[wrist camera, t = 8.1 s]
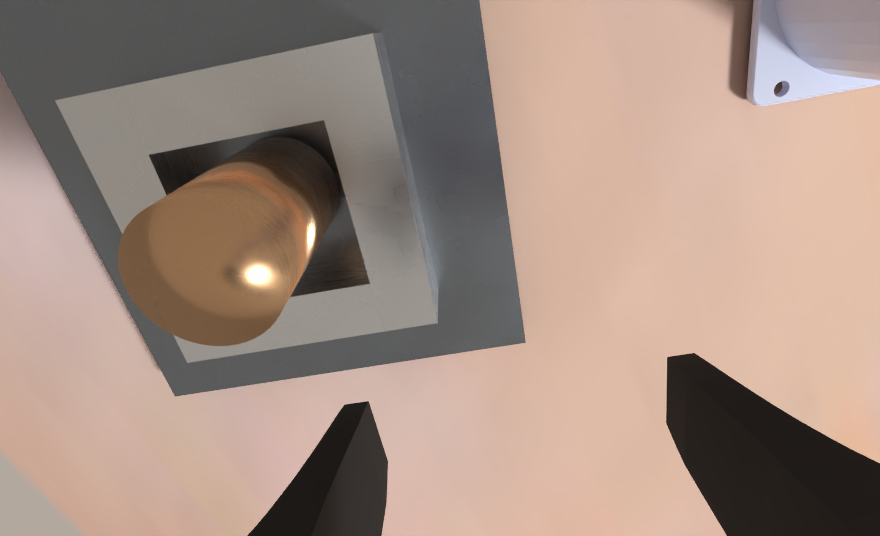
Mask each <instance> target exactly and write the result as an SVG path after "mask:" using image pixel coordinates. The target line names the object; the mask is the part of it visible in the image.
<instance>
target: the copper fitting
mask: <svg viewBox="0 0 880 536" xmlns="http://www.w3.org/2000/svg"><path fill="white" fill-rule="evenodd" d="M338 206H339V186H338V182H337V179H336V177H335V174H334V172H333V170H332V168H331V167H330V165H329V164H328V162H327V161H326V160H325V159H324V158H323V157H322V155H321V154H319V153H318V152H317V151H316V150H315V149H313V148H312V147H310V146H309V145H307V144H305V143H303V142H301V141H298V140H295V139H291V138H287V137H269V138H264V139H261V140H258V141H256V142H254V143H252V144H250V145H249V146H247V147H245V148H244V149H242V150H240V151H239V152H237V153H235V154H234V155H232V156H231V157H229V158H227V159H226V160H224V161H222V162H221V163H219V164H217V165H216V166H214V167H213V168H211V169H209V170H208V171H206V172H204V173H203V174H201V175H199V176H198V177H196V178H195V179H193V180H191V181H190V182H188V183H186V184H185V185H183V186H181V187H180V188H178V189H177V190H175V191H173V192H172V193H170V194H168V195H167V196H165V197H163V198H162V199H160V200H159V201H157V202H155V203H154V204H152V205H150V206H149V207H147V208H146V209H144V210H143V211H141V212H140V213H138V214H137V215H136V216H135V217H134V218H133V219H132V220H131V221H130V223H129V224H128V225H127V227H126V228H125V230H124V232H123V235H122V237H121V240H120V244H119V249H118V266H119V271H120V275H121V278H122V281H123V284H124V286H125V288H126V290H127V292H128V294H129V296H130V297H131V299H132V300H133V302H134V303H135V304H136V306H137V307H138V308H139V309H140V310H141V311H142V312H143V313H144V314H145V315H146V316H147V317H148V318H149V319H150V320H151V321H152V322H154V323H155V324H156V325H157V326H159V327H161V328H162V329H164V330H165V331H167V332H169V333H171V334H173V335H174V336H177V337H179V338H181V339H184V340H187V341H190V342H193V343H197V344H202V345H209V346H230V345H237V344H241V343H245V342H247V341H250V340H252V339H255V338H256V337H258V336H260V335H262V334H263V333H264V332H266V331H267V330H268V329H269V328H270V327H271V326H272V325H273V324H274V323H275V322H276V320H277V319H278V317H279V316H280V314H281V312H282V310H283V309H284V307H285V305H286V303H287V301H288V300H289V298H290V296H291V294H292V293H293V291H294V289H295V287H296V285H297V284H298V282H299V280H300V278H301V276H302V275H303V273H304V271H305V269H306V268H307V266H308V264H309V262H310V260H311V259H312V257H313V255H314V253H315V251H316V250H317V248H318V246H319V244H320V242H321V241H322V239H323V237H324V235H325V234H326V232H327V230H328V228H329V226H330V225H331V223H332V221H333V219H334V217H335V215H336V213H337V210H338Z"/></svg>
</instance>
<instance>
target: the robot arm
mask: <svg viewBox="0 0 880 536" xmlns="http://www.w3.org/2000/svg"><path fill="white" fill-rule="evenodd" d="M779 82H782V89H781V91H780V92H779V93H778V94H776V95H775V94H774V88H775V86H776V85H777V84H778V83H779ZM876 85H880V0H754V2H753V15H752V28H751V41H750V54H749V67H748V80H747V92H746V94H747V99H748V101H749V102H750V103H751V104H753V105H757V106H768V105H774V104H779V103H784V102H790V101H795V100H801V99H806V98H811V97H817V96H822V95H827V94H833V93H838V92H844V91H849V90H854V89H860V88H865V87H870V86H876ZM666 423H667V426H668V428H669V430H670V433H671V435H672V437H673V440H674V442H675V444H676V447H677V449H678V451H679V453H680V455H681V458H682V460H683V462H684V464H685V466H686V467H687V469H688V471H689V473H690V474H691V476H692V478H693V480H694V481H695V483H696V485H697V486H698V488H699V490H700V491H701V493H702V495H703V496H704V498H705V500H706V501H707V503H708V505H709V506H710V508H711V510H712V511H713V513H714V515H715V516H716V518H717V520H718V521H719V523H720V525H721V526H722V528H723V530H724V531H725V533H726V535H727V536H880V463H878V462H876V461H874V460H872V459H869V458H867V457H865V456H863V455H861V454H859V453H857V452H855V451H853V450H851V449H849V448H848V447H846V446H844V445H842V444H840V443H838V442H836V441H834V440H832V439H831V438H829V437H827V436H825V435H824V434H822V433H820V432H818V431H817V430H815V429H813V428H811V427H809V426H808V425H806V424H804V423H802V422H801V421H799V420H797V419H796V418H794V417H792V416H791V415H789V414H787V413H786V412H784V411H782V410H781V409H779V408H777V407H776V406H774V405H773V404H771V403H769V402H768V401H766V400H765V399H763V398H761V397H760V396H758V395H757V394H755V393H754V392H752V391H751V390H749V389H748V388H746V387H744V386H743V385H741V384H740V383H738V382H737V381H735V380H734V379H732V378H731V377H729V376H728V375H726V374H725V373H723V372H722V371H720V370H719V369H717V368H716V367H714V366H713V365H711V364H710V363H708V362H707V361H705V360H704V359H702V358H701V357H699V356H698V355H696V354H695V353H692V354H685V355H679V356H672V357H667V415H666ZM387 471H388V460H387V457H386V454H385V451H384V448H383V445H382V442H381V439H380V436H379V432H378V429H377V426H376V423H375V420H374V417H373V414H372V411H371V408H370V404H369V401H367V402H360V403H354V404H347V405H344V406H343V408H342V409H341V410H340V412H339V413H338V415H337V416H336V418H335V419H334V421H333V422H332V424H331V425H330V427H329V428H328V430H327V431H326V433H325V434H324V436H323V437H322V439H321V440H320V442H319V443H318V445H317V446H316V448H315V449H314V451H313V452H312V454H311V455H310V456H309V458H308V459H307V461H306V462H305V464H304V465H303V466H302V468H301V469H300V471H299V472H298V473H297V475H296V476H295V478H294V479H293V480H292V482H291V483H290V484H289V486H288V487H287V488H286V489H285V491H284V492H283V493H282V495H281V496H280V497H279V498H278V500H277V501H276V502H275V504H274V505H273V506H272V508H271V509H270V510H269V511H268V512H267V514H266V515H265V516H264V517H263V518H262V520H261V521H260V522H259V523H258V524H257V526H256V527H255V528H254V529H253V530H252V531H251V532H250V533H249V535H248V536H381V535H382V528H383V521H384V515H385V508H386V498H387Z"/></svg>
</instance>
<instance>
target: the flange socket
mask: <svg viewBox="0 0 880 536" xmlns="http://www.w3.org/2000/svg"><path fill="white" fill-rule="evenodd" d="M0 71H1V73H2V75H3V77H4V79H5V81H6V82H7V84H8V86H9V88H10V90H11V92H12V94H13V95H14V97H15V99H16V101H17V103H18V105H19V107H20V109H21V110H22V112H23V114H24V116H25V118H26V120H27V122H28V123H29V125H30V127H31V129H32V131H33V133H34V135H35V136H36V138H37V140H38V142H39V144H40V146H41V148H42V149H43V151H44V153H45V155H46V157H47V159H48V161H49V163H50V164H51V166H52V168H53V170H54V172H55V174H56V176H57V177H58V179H59V181H60V183H61V185H62V187H63V189H64V190H65V192H66V194H67V196H68V198H69V200H70V202H71V203H72V205H73V207H74V209H75V211H76V213H77V215H78V217H79V218H80V220H81V222H82V224H83V226H84V228H85V230H86V231H87V233H88V235H89V237H90V239H91V241H92V243H93V244H94V246H95V248H96V250H97V252H98V254H99V256H100V257H101V259H102V261H103V263H104V265H105V267H106V269H107V271H108V272H109V274H110V276H111V278H112V280H113V282H114V284H115V285H116V287H117V289H118V291H119V293H120V295H121V297H122V298H123V300H124V302H125V304H126V306H127V308H128V310H129V311H130V313H131V315H132V317H133V319H134V321H135V323H136V325H137V326H138V328H139V330H140V332H141V334H142V336H143V338H144V339H145V341H146V343H147V345H148V347H149V349H150V351H151V352H152V354H153V356H154V358H155V360H156V362H157V364H158V365H159V367H160V369H161V371H162V373H163V375H164V377H165V379H166V380H167V382H168V384H169V386H170V388H171V390H172V392H173V393H174V395H175V396H181V395H187V394H194V393H200V392H207V391H213V390H220V389H226V388H233V387H239V386H246V385H252V384H259V383H265V382H272V381H278V380H285V379H291V378H298V377H304V376H311V375H317V374H324V373H330V372H337V371H343V370H350V369H356V368H363V367H369V366H376V365H382V364H389V363H395V362H402V361H408V360H415V359H422V358H428V357H435V356H441V355H448V354H454V353H461V352H467V351H474V350H480V349H487V348H493V347H500V346H506V345H513V344H519V343H526V342H525V335H524V328H523V320H522V313H521V306H520V298H519V291H518V283H517V276H516V269H515V261H514V254H513V247H512V239H511V232H510V225H509V217H508V210H507V202H506V195H505V188H504V180H503V173H502V166H501V158H500V151H499V143H498V136H497V129H496V121H495V114H494V107H493V99H492V92H491V84H490V77H489V70H488V62H487V55H486V48H485V40H484V33H483V25H482V18H481V11H480V3H479V0H0ZM269 137H287V138H291V139H295V140H298V141H301V142H303V143H305V144H307V145H309V146H310V147H312V148H313V149H315V150H316V151H317V152H318V153H319V154H321V155H322V157H323V158H324V159H325V160H326V161H327V162H328V164H329V165H330V167H331V168H332V170H333V172H334V174H335V177H336V179H337V182H338V186H339V206H338V210H337V213H336V215H335V217H334V219H333V221H332V223H331V225H330V226H329V228H328V230H327V232H326V234H325V235H324V237H323V239H322V241H321V242H320V244H319V246H318V248H317V250H316V251H315V253H314V255H313V257H312V259H311V260H310V262H309V264H308V266H307V268H306V269H305V271H304V273H303V275H302V276H301V278H300V280H299V282H298V284H297V285H296V287H295V289H294V291H293V293H292V294H291V296H290V298H289V300H288V301H287V303H286V305H285V307H284V309H283V310H282V312H281V314H280V316H279V317H278V319H277V320H276V322H275V323H274V324H273V325H272V326H271V327H270V328H269V329H268V330H267V331H266V332H264V333H263V334H262V335H260V336H258V337H256V338H255V339H252V340H250V341H247V342H245V343H241V344H237V345H230V346H209V345H202V344H197V343H193V342H190V341H187V340H184V339H181V338H179V337H177V336H174V335H173V334H171V333H169V332H167V331H165V330H164V329H162V328H161V327H159V326H157V325H156V324H155V323H154V322H152V321H151V320H150V319H149V318H148V317H147V316H146V315H145V314H144V313H143V312H142V311H141V310H140V309H139V308H138V307H137V306H136V304H135V303H134V302H133V300H132V299H131V297H130V296H129V294H128V292H127V290H126V288H125V286H124V284H123V281H122V278H121V275H120V271H119V266H118V249H119V244H120V240H121V237H122V235H123V232H124V230H125V228H126V227H127V225H128V224H129V223H130V221H131V220H132V219H133V218H134V217H135V216H136V215H137V214H138V213H140V212H141V211H143V210H144V209H146V208H147V207H149V206H150V205H152V204H154V203H155V202H157V201H159V200H160V199H162V198H163V197H165V196H167V195H168V194H170V193H172V192H173V191H175V190H177V189H178V188H180V187H181V186H183V185H185V184H186V183H188V182H190V181H191V180H193V179H195V178H196V177H198V176H199V175H201V174H203V173H204V172H206V171H208V170H209V169H211V168H213V167H214V166H216V165H217V164H219V163H221V162H222V161H224V160H226V159H227V158H229V157H231V156H232V155H234V154H235V153H237V152H239V151H240V150H242V149H244V148H245V147H247V146H249V145H250V144H252V143H254V142H256V141H258V140H261V139H264V138H269Z"/></svg>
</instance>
